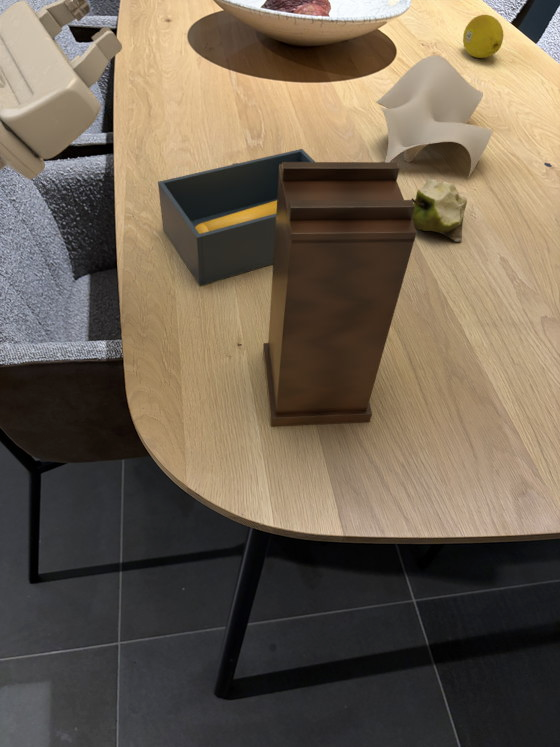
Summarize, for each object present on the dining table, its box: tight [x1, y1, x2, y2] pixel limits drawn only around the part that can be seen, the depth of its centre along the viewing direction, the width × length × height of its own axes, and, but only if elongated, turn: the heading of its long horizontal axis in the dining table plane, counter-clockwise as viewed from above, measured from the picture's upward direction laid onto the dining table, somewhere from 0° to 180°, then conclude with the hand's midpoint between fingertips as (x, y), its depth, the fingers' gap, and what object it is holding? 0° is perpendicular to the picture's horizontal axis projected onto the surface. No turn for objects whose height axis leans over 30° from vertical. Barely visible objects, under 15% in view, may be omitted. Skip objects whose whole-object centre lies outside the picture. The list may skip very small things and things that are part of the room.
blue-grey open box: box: [157, 148, 316, 287], centre depth 83 cm, size 22×13×8 cm, turn 118°
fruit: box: [410, 178, 468, 243], centre depth 88 cm, size 9×9×8 cm
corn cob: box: [195, 200, 277, 234], centre depth 84 cm, size 18×4×4 cm, turn 121°
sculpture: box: [375, 54, 493, 179], centre depth 104 cm, size 25×19×10 cm
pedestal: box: [262, 161, 418, 427], centre depth 59 cm, size 11×11×26 cm
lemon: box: [462, 14, 504, 59], centre depth 129 cm, size 11×8×8 cm
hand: (99, 16), depth 56 cm, fingers open, 8 cm apart
